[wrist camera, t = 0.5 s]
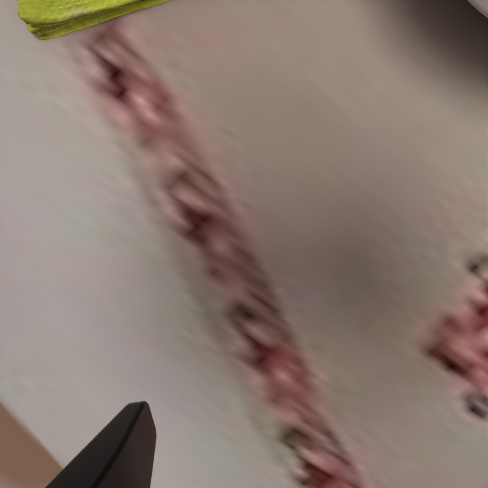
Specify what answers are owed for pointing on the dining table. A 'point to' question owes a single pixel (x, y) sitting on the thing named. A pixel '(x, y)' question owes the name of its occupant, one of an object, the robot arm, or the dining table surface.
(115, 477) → the robot arm
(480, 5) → the chocolate pudding bowl
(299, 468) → the dining table surface
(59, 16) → the dish towel
